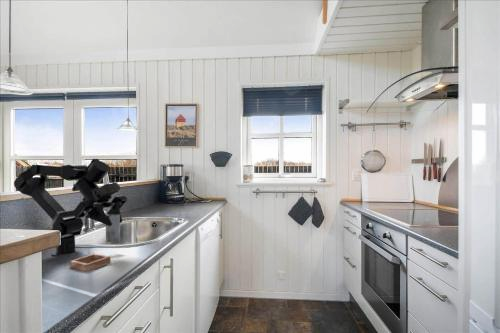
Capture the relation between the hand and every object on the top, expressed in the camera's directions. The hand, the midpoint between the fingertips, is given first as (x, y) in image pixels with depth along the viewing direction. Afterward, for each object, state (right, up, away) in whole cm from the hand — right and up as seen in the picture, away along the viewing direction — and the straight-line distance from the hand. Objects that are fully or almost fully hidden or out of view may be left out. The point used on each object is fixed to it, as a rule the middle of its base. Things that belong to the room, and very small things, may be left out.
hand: (116, 223), depth 90 cm
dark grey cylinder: (-1, -6, 0) cm, 6 cm away
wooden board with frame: (-3, -12, -4) cm, 13 cm away
